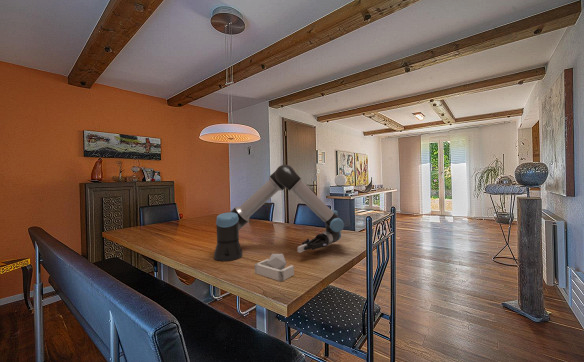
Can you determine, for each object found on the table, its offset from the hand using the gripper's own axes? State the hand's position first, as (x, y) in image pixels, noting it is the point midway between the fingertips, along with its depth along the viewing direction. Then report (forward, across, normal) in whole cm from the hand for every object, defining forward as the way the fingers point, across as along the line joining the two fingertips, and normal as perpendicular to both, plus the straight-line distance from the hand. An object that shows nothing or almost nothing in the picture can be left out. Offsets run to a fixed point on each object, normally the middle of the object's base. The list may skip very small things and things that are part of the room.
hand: (298, 249), depth 123 cm
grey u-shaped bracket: (+18, 0, -6) cm, 19 cm away
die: (+15, +1, -6) cm, 17 cm away
